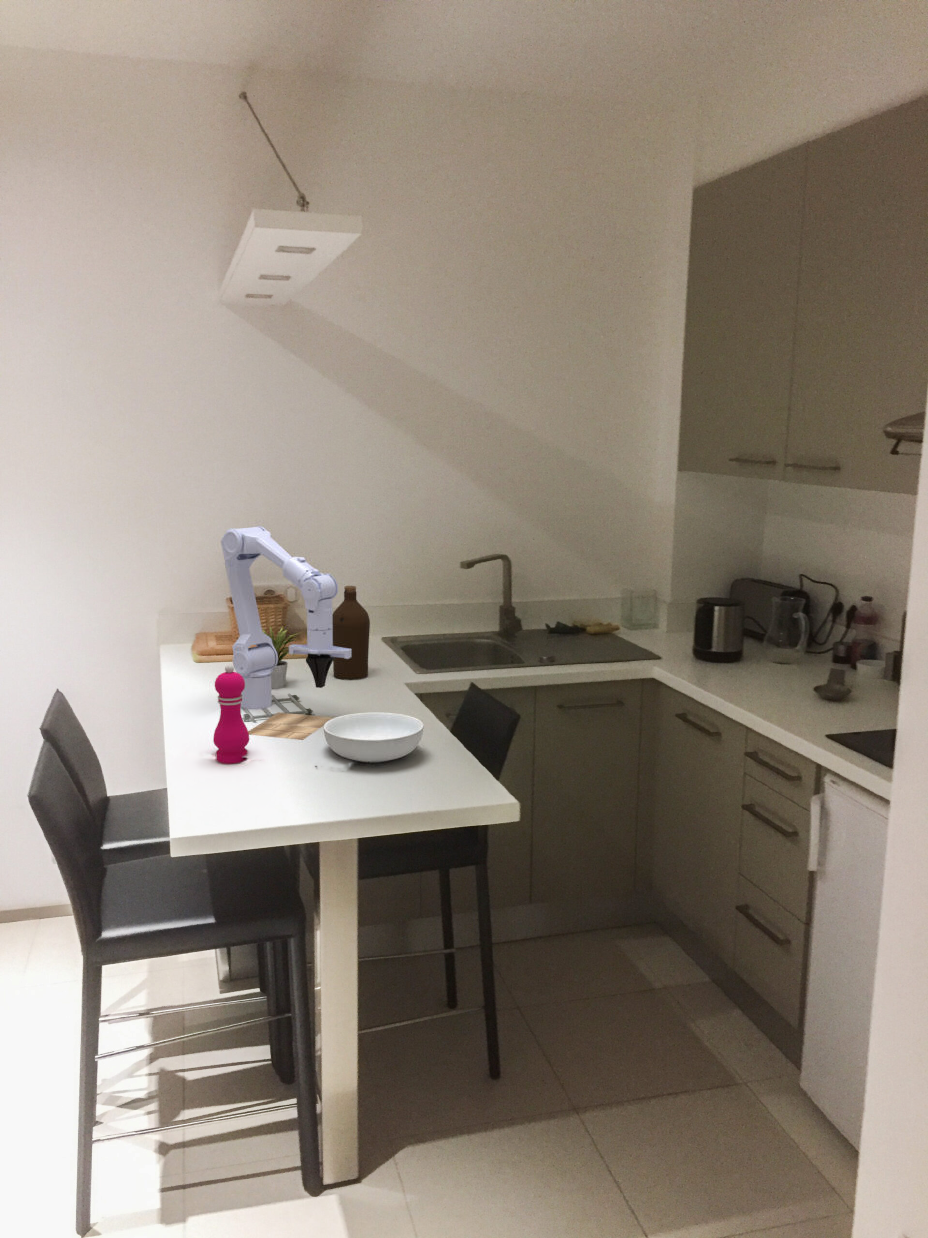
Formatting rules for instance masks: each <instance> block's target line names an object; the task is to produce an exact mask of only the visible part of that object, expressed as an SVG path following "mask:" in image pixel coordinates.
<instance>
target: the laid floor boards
mask: <svg viewBox="0 0 928 1238" xmlns="http://www.w3.org/2000/svg"><path fill="white" fill-rule="evenodd" d="M319 729H320V728H314V727H304V726H294V725H284V724H274V723H263V722H261V723H260V724H257V725H256V726H254V727H252V728H251V729H250V730H248V733H249V736H250V735H252V736H258V737H259V736H261V737H272V738H280V739H290V740H298V741H299V740H301V741H303V740H305V739H307V738H308V737H309V736H310V735H312V734H314V733H315V732H317V731H318V730H319Z"/></svg>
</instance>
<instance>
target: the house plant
mask: <svg viewBox="0 0 928 1238" xmlns="http://www.w3.org/2000/svg"><path fill="white" fill-rule="evenodd" d="M283 629H284V626H283V625H282V627H280V630H279V632H278V634H277V635H276V637H275V634H274V632H273V629H272V627H271V625H269V632H270V634H269V633H267V631H266V630H265V629H264V628H262V632H263V633H264V634H266V635H267V636H269V637H270V638H271V639H272V643H273V646H274V648H275V649H276V651H277V655H278V662H277V665H276V666H275V667H274V668H273V672H272V673H271V690H272V689H275V690H277V689H281V688H284V687H285V685H286V678H287V672H288V664H289V662H288V661H286V660H283V658H285V657H286V656H287V655H288V654H289V646H287V644H289V643H291V642H294V641H295V642H296V641H299V640H300V638H297V637H298V636H297V635H298V634H299V632H297V633H294V634H293V633H292V635H291V634H290V635H288V636H286V634H287V631H289V630H288V629H285V630H283ZM302 633H303V632H300V634H302ZM295 635H296V636H295ZM293 638H296V639H293ZM292 655H293V656H295V654H292Z"/></svg>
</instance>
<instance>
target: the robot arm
mask: <svg viewBox="0 0 928 1238" xmlns="http://www.w3.org/2000/svg"><path fill="white" fill-rule="evenodd" d="M220 544H221V548H222V553H223V555H222V556H223V558H224V566H225V572H226V576H227V581H228V585H229V591H230V595H231V601H232V606H233V610H234V615H235V621H236V625H237V628H238V629H237V630H238V635H239V637H238V638H237V639H236V641H235V642H234V643H233V644H232V647H231V648H232V652H233V654H232V655H233V656H232V666H233V667H234V670H235V672H236V673H239V674H240V675H241V676H242V677H243V679H244V681H245V688H244V690H243V691H242V693H241V694H242V695H243V697H242V699H243V702H242V703H241V708H240V709H247V710H262V709H263V710H264V709H266V708H267V709H268V708H270V707H271V706H273V705H272V703H273V701H272V700H273V699H272V689H271V673H272V672H273V668H274V667H275V666H276V665H277V662H278V659H279V658H278V655H277V651H276V649H275V648H274V646H273V643H272V639H271V638H270V637H271V636H270V637H269V636H267V635H266V634H264V633H263V632H262V629H263V628H262V623H261V620H260V614H259V610H258V609H259V608H258V605H257V604H258V603H257V599H256V595H255V594H256V593H255V589H254V585H253V580H252V576H251V570H250V568H251V566H252V565H253V562H255V561H256V560H257V559H259V558H260V557H261V556H263V557H264V558H266V559H267V560H269V561H270V562H272V563H273V564H275V566H278V567H279V568H281V569H282V575H283V577H284V578H285V579H287V580H288V581H289V582H291V583H292V584H293V585H294V586H295V587H297V588H298V589H299V590H300V594H301V596H302V598H303V600H304V608H305V609H306V636H307V637H306V639H307V640H306V644H293V643H292V644H290V645H288V647H289V648H288V649H289V653H288V654H289V655H293V654H294V655H306V656H307V657H306V658H305V662H306V664H307V665H308V668H309V669H310V671H311V673H312V674H311V675H312V676H313V680H314V685H315V688H318V689H323V688H324V687H325V686H326V681H327V678H328V673H329V670H330V668H331V666H332V665H333V660H334V657H341V658H345V659H349V658H351V649H348V648H342V647H336V646H333V619H332V615H333V599H335V597H336V596H337V595H338V591H339V588H338V587H339V586H338V582H337V581H336V579H335V577H333V575H332V574H331V573H322V572H320V571H319V569H318V568H315V567H313V566H312V565H310V563H309V562H307V560H306V558H304V557H303V556H301V557H300V556H294V557H292V556H291V554H289V552H287V551H286V550H285V549H284V548H283V547H282V546H281V545H280V544H278V543H277V541H276V540H274V539H273V538H272V534H271V531H268V530H267V529H266V528H265V527H263V526H260V525H258V526H257V525H256V526H253V527H243V528H240V527H239V528H229V529H227V530H226V531H225V532H224V534H223V537H222V538H221V540H220ZM251 646H252V647H251Z"/></svg>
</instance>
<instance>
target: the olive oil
mask: <svg viewBox="0 0 928 1238" xmlns="http://www.w3.org/2000/svg"><path fill="white" fill-rule="evenodd" d="M343 588H344V591H343V601H342V602H341V603H340V605H339V606H337V608H335V610H334V611H333V612H332V619H333V646H336V647H342V648H348V649H351V658H349V659H345V658H341V657H334V660H333V662H332V669H333V671H332V672H333V678H335V679H338V678H339V680H344V679H349V681H351V680H350V679H356V680H361V678H362V679H364V678H365V679H366V678H367V677H368V676H369V648H370V631H371V630H370V628H371V620H370V615H369V614H368V612H367V610H366V609H365V608H364V607H363V605H361V604H360V602H359V601H358V599H357V591H356V590H357V586H356V585H345V586H344V587H343Z"/></svg>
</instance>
